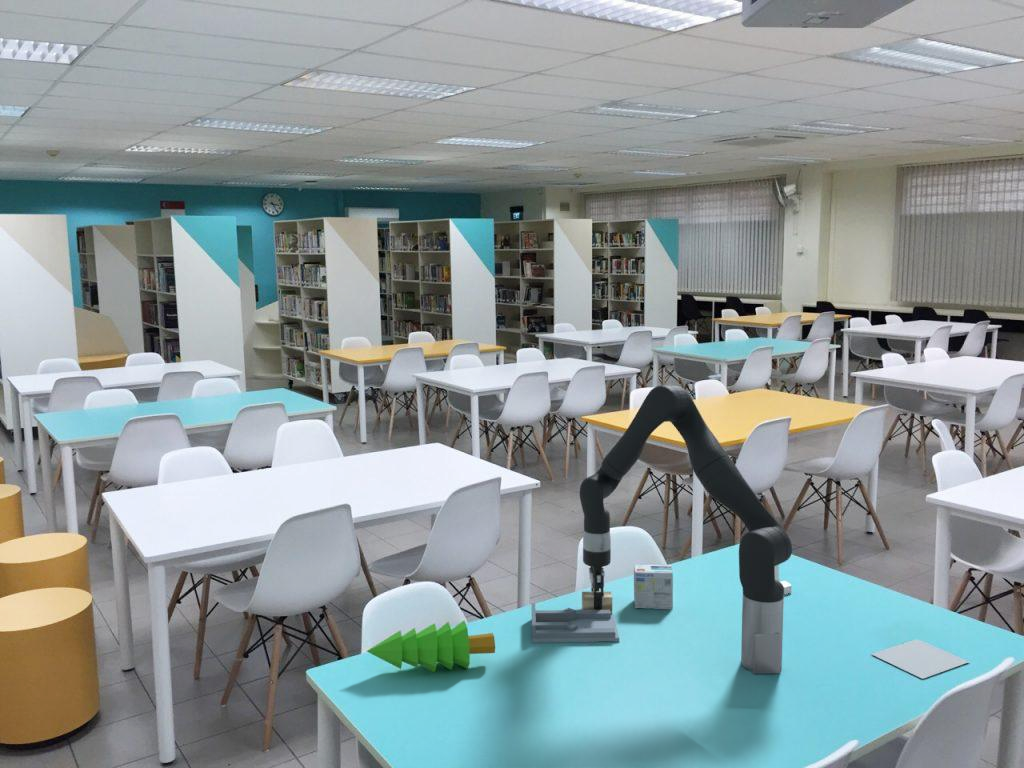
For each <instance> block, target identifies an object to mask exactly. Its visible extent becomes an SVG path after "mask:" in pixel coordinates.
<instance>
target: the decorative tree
mask: <svg viewBox="0 0 1024 768" xmlns="http://www.w3.org/2000/svg"><path fill="white" fill-rule="evenodd" d="M468 633H469V632H468V626H467V623H466V621H465V620H462V621H461V622H460V623H458V624H457V625H456V626H455V627H451V624H450V621H447V622H445V624H443V625H442V626H441V627H440V628H439V629H437V626H436V623H432V624H431V625H429V626H427V627H426V628H423V629H422V630H420V631H419V632H416V628H415V627H414V628H412V629H411V630H409V631H408V632H407V633H405V634H403V635H402V630H399V631H397V632H395V633H394V634H392V635H391V636H389V637H387V638H385V639H384V640H382V641H380V642H379V643H377V644H376V645H373V646H372V647H371V648H369V649H367V650H366V652H367V653H369V654H370V655H373V656H375V657H377V658H379V659H380V660H383V661H384V662H386V663H388V664H391V665H392V666H394V667H396V668H398V669H400V670H402V665H403V663H405V664H408V665H410V666H412V667H415V668H418V667H419V665H420V666H421V667H424V668H425V669H426V670H429V671H430V672H433V673H436V669H437V663H438V664H440V665H442V666H443V667H444V668H447V669H448V670H450V671H452V670H453V666H454V664H456V665H458V666H460V667H463V668H465V669H466V670H468V669H469V666H470V659H471V658H470V657H471V656H470V655H475V654H477V655H480V654H481V655H482V654H495V653H496V639H495V635H494V633H493V632H489V633H482V634H473V635H469V634H468Z"/></svg>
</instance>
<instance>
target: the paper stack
mask: <svg viewBox="0 0 1024 768" xmlns="http://www.w3.org/2000/svg"><path fill="white" fill-rule="evenodd" d="M871 656H874V657H876V658H878V659H880V660H881V661H885V662H886V663H889V664H891V665H892V666H894V667H897V668H899V669H901V670H903V671H905V672H907V673H909V674H911V675H914V676H916V677H917V678H920V679H926V678H929V677H932V676H935V675H937V674H940V673H942V672H946V671H948V670H952V669H954V668H957V667H959V666H963V665H965V664H968V663H970V661H968V660H966V659H964V658H961V657H959V656H957V655H954V654H953V653H950V652H948V651H946V650H943V649H941V648H938V647H936V646H934V645H933V644H929V643H927V642H925V641H922V640H920V639H918V638H916V639H913V640H910V641H907V642H904V643H900V644H897V645H894V646H891V647H889V648H886V649H882V650H880V651H877V652H874V653H873V652H872V653H871Z"/></svg>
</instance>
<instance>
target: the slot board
mask: <svg viewBox="0 0 1024 768" xmlns="http://www.w3.org/2000/svg"><path fill="white" fill-rule="evenodd" d="M531 636H532V637H531V640H532V641H531V642H532V643H599V642H598V641H617V642H618V643H619V642H620V635H619V631H618V627H617V624H616V620H615V616H614V614H611V613H610V610H582V609H573V608H571V607H567V608H565V609H560V610H559V609H558V610H556V609H555V610H552V609H549V610H547V609H546V610H544V609H543V610H542V609H541V610H538V609H537V610H536V603H534V602H533V603H531ZM590 641H591V642H590ZM594 641H595V642H594ZM617 642H616V643H617Z"/></svg>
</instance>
